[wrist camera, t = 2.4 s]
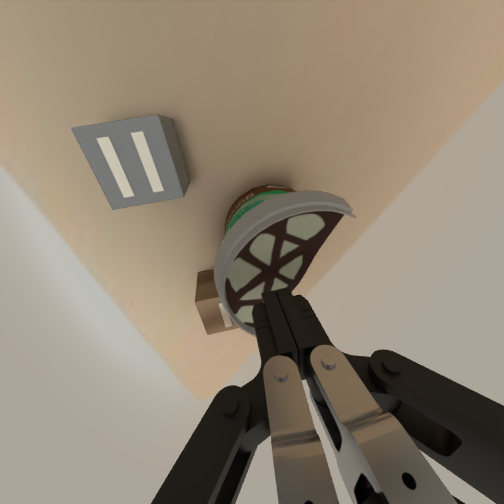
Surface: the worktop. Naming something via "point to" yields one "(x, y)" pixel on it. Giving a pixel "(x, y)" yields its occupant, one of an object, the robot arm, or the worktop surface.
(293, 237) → the food container
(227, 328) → the walnut block
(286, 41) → the worktop surface
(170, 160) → the slate block
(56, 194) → the worktop surface
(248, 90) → the worktop surface
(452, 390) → the robot arm
